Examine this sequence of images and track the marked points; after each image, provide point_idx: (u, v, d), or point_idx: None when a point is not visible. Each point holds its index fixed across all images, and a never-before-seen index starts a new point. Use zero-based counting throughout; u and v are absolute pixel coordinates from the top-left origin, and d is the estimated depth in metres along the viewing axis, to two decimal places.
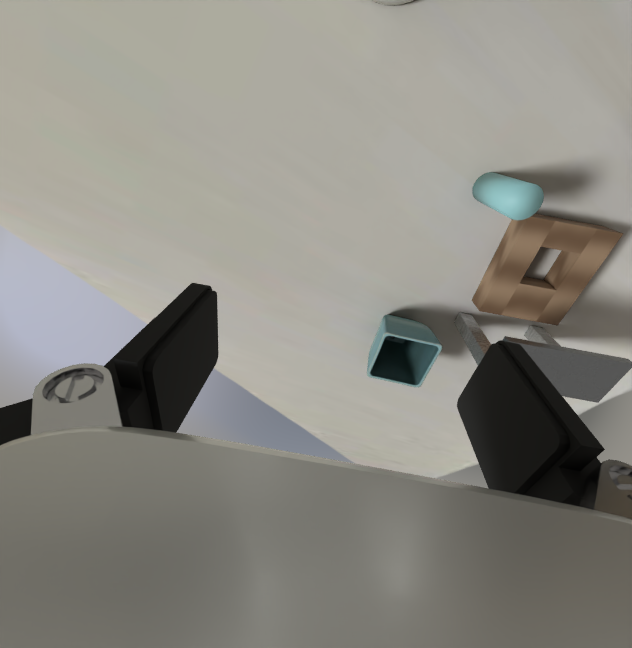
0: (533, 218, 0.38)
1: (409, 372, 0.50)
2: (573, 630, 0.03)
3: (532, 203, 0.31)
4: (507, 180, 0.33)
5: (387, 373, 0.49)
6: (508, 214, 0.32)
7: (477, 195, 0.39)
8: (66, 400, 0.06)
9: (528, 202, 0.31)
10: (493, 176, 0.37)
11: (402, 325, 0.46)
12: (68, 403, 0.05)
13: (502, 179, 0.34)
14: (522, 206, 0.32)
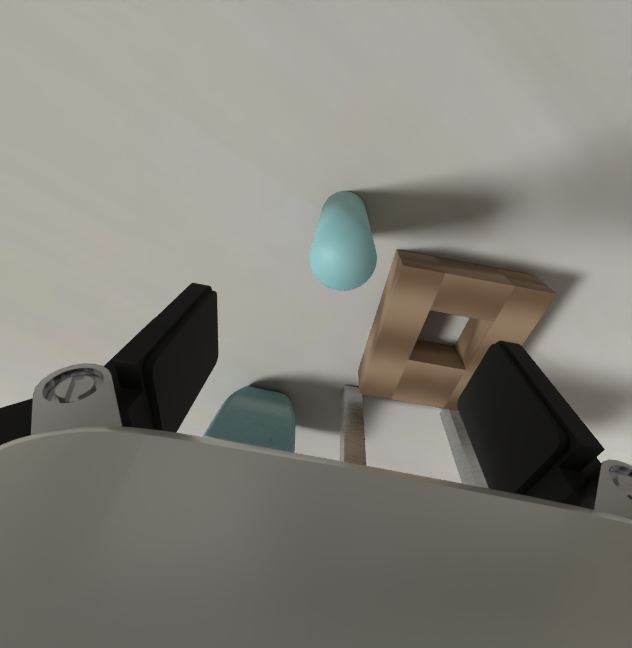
0: (409, 269, 0.23)
1: None
2: (573, 630, 0.03)
3: (359, 262, 0.16)
4: (333, 213, 0.18)
5: None
6: (321, 280, 0.17)
7: None
8: (66, 400, 0.06)
9: (350, 260, 0.16)
10: (333, 200, 0.21)
11: (247, 414, 0.31)
12: (68, 403, 0.05)
13: (332, 209, 0.19)
14: (342, 267, 0.16)
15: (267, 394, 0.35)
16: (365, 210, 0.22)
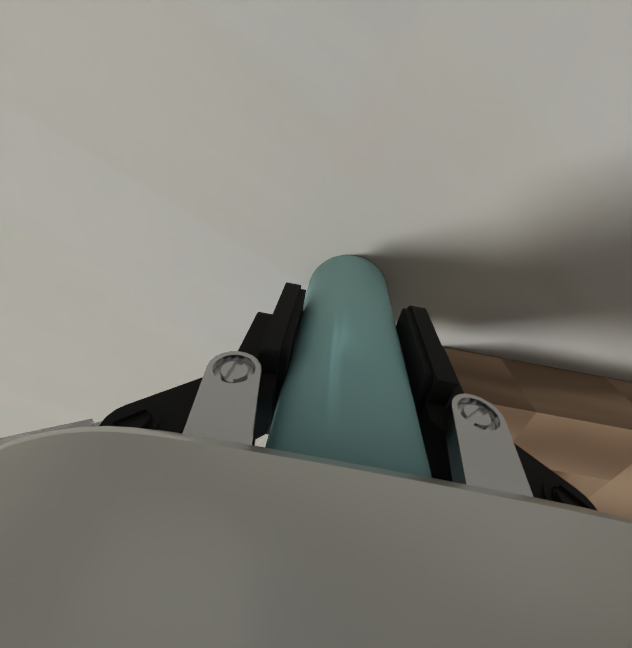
0: None
1: None
2: (573, 630, 0.03)
3: None
4: (321, 346, 0.08)
5: None
6: None
7: None
8: (225, 379, 0.07)
9: None
10: (327, 285, 0.11)
11: None
12: (225, 382, 0.06)
13: (321, 324, 0.09)
14: None
15: None
16: (388, 301, 0.11)
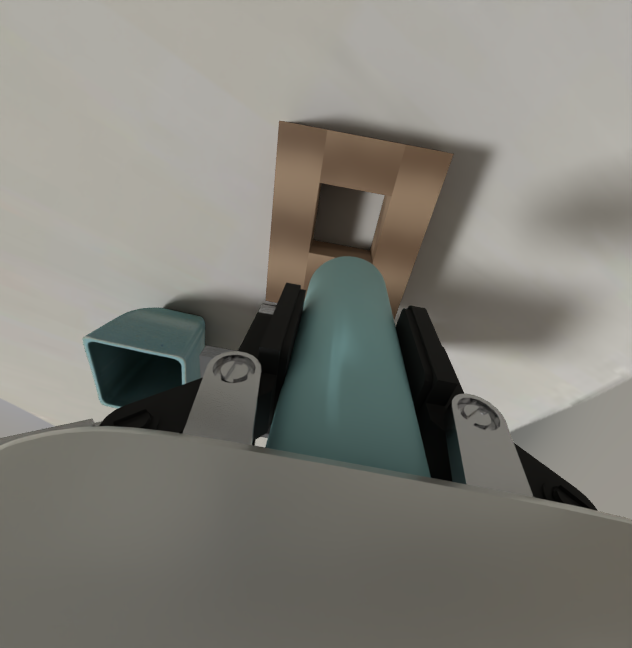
0: (287, 125, 0.20)
1: None
2: (573, 630, 0.03)
3: None
4: (321, 348, 0.08)
5: None
6: None
7: None
8: (225, 379, 0.07)
9: None
10: (327, 287, 0.11)
11: (144, 324, 0.28)
12: (225, 382, 0.06)
13: (321, 326, 0.09)
14: None
15: (179, 314, 0.32)
16: (388, 303, 0.11)
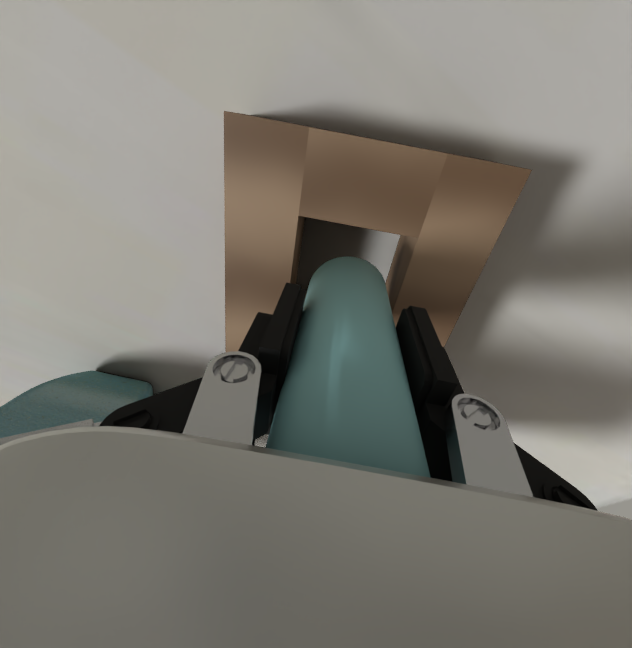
0: (239, 119, 0.12)
1: None
2: (573, 630, 0.03)
3: None
4: (321, 348, 0.08)
5: None
6: None
7: None
8: (225, 379, 0.07)
9: None
10: (327, 287, 0.11)
11: (50, 410, 0.20)
12: (225, 382, 0.06)
13: (321, 326, 0.09)
14: None
15: (114, 382, 0.23)
16: (388, 303, 0.11)
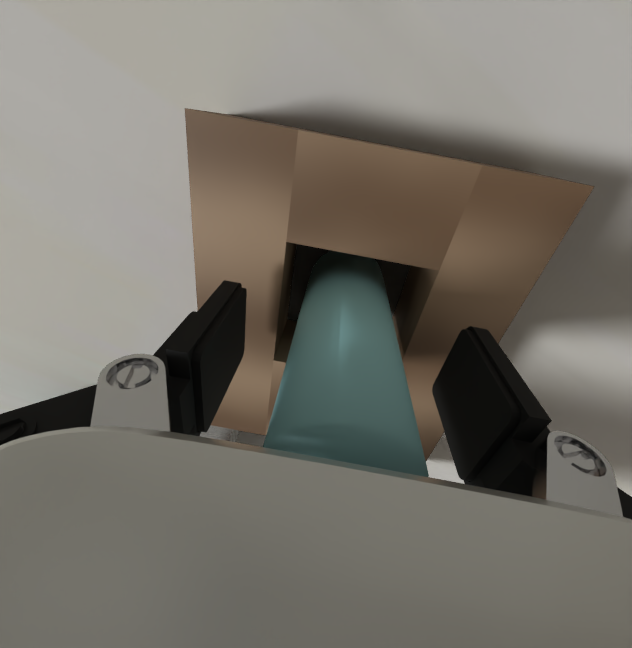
0: (205, 119, 0.09)
1: None
2: (573, 630, 0.03)
3: None
4: (322, 325, 0.09)
5: None
6: None
7: None
8: (124, 386, 0.06)
9: None
10: (327, 274, 0.12)
11: None
12: (126, 389, 0.06)
13: (322, 307, 0.10)
14: None
15: None
16: (384, 290, 0.12)
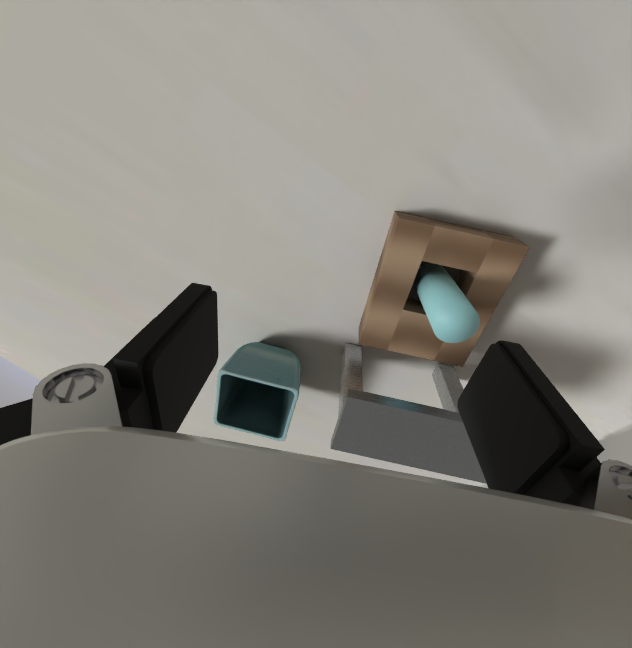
0: (404, 221, 0.27)
1: (279, 418, 0.38)
2: (574, 630, 0.03)
3: (467, 326, 0.25)
4: (441, 288, 0.27)
5: (245, 420, 0.37)
6: (438, 336, 0.25)
7: (416, 290, 0.32)
8: (66, 400, 0.06)
9: (461, 324, 0.25)
10: (431, 273, 0.30)
11: (257, 359, 0.35)
12: (68, 403, 0.05)
13: (437, 283, 0.28)
14: (455, 328, 0.25)
15: (275, 348, 0.39)
16: None
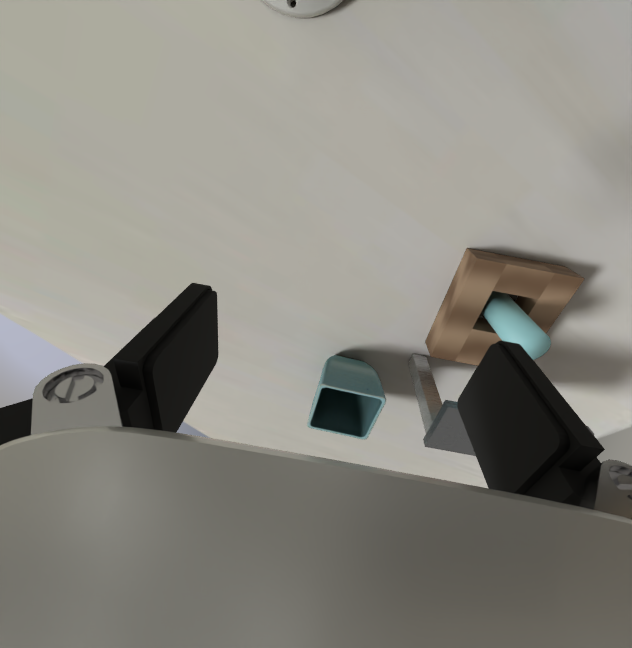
0: (481, 260, 0.33)
1: (357, 420, 0.45)
2: (573, 630, 0.03)
3: (539, 348, 0.31)
4: (513, 315, 0.33)
5: (331, 422, 0.44)
6: None
7: (482, 311, 0.38)
8: (66, 400, 0.06)
9: (535, 346, 0.31)
10: (498, 299, 0.36)
11: (345, 372, 0.41)
12: (68, 403, 0.05)
13: (508, 310, 0.34)
14: (529, 349, 0.31)
15: (352, 360, 0.45)
16: None
